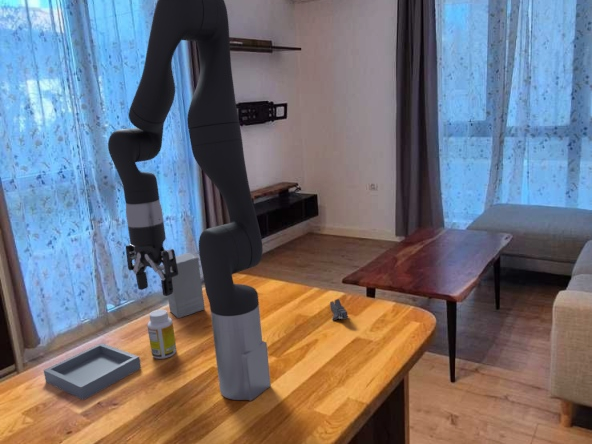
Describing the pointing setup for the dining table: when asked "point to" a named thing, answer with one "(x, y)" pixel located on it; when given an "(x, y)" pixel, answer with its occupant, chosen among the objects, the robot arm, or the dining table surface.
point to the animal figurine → (338, 310)
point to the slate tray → (92, 370)
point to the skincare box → (186, 287)
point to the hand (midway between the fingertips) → (155, 291)
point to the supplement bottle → (161, 334)
